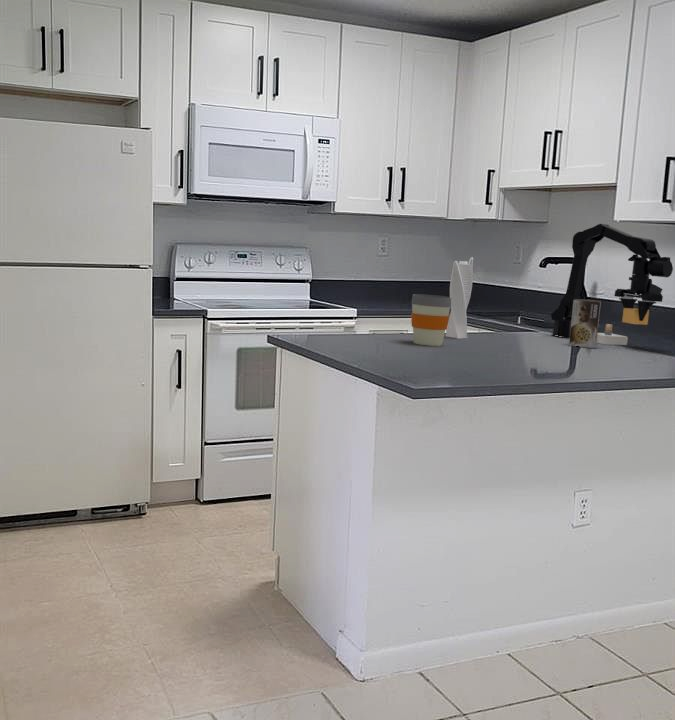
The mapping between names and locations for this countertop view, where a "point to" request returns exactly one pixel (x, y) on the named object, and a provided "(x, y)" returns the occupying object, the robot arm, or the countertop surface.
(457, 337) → the skyscraper
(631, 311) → the yellow short cylinder
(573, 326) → the coffee box
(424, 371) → the countertop surface
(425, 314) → the reusable coffee cup
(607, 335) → the block
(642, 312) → the robot arm
